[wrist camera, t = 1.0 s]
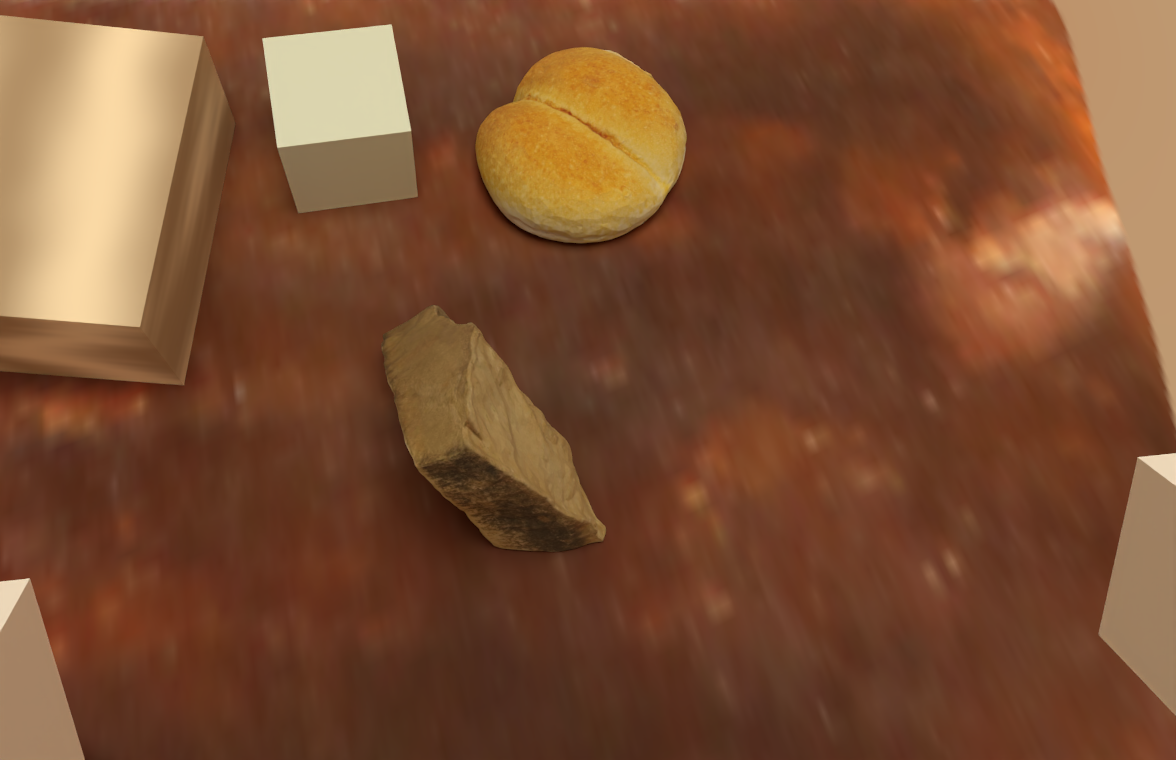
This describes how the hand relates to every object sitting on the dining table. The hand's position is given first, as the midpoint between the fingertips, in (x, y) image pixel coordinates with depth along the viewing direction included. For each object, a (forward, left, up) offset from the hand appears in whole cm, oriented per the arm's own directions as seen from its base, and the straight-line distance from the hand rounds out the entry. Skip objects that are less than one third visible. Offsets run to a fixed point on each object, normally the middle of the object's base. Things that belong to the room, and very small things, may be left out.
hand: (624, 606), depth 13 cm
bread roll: (+1, +23, -27) cm, 36 cm away
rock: (-2, +10, -27) cm, 29 cm away
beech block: (-20, +17, -27) cm, 38 cm away
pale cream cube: (-9, +23, -27) cm, 36 cm away
